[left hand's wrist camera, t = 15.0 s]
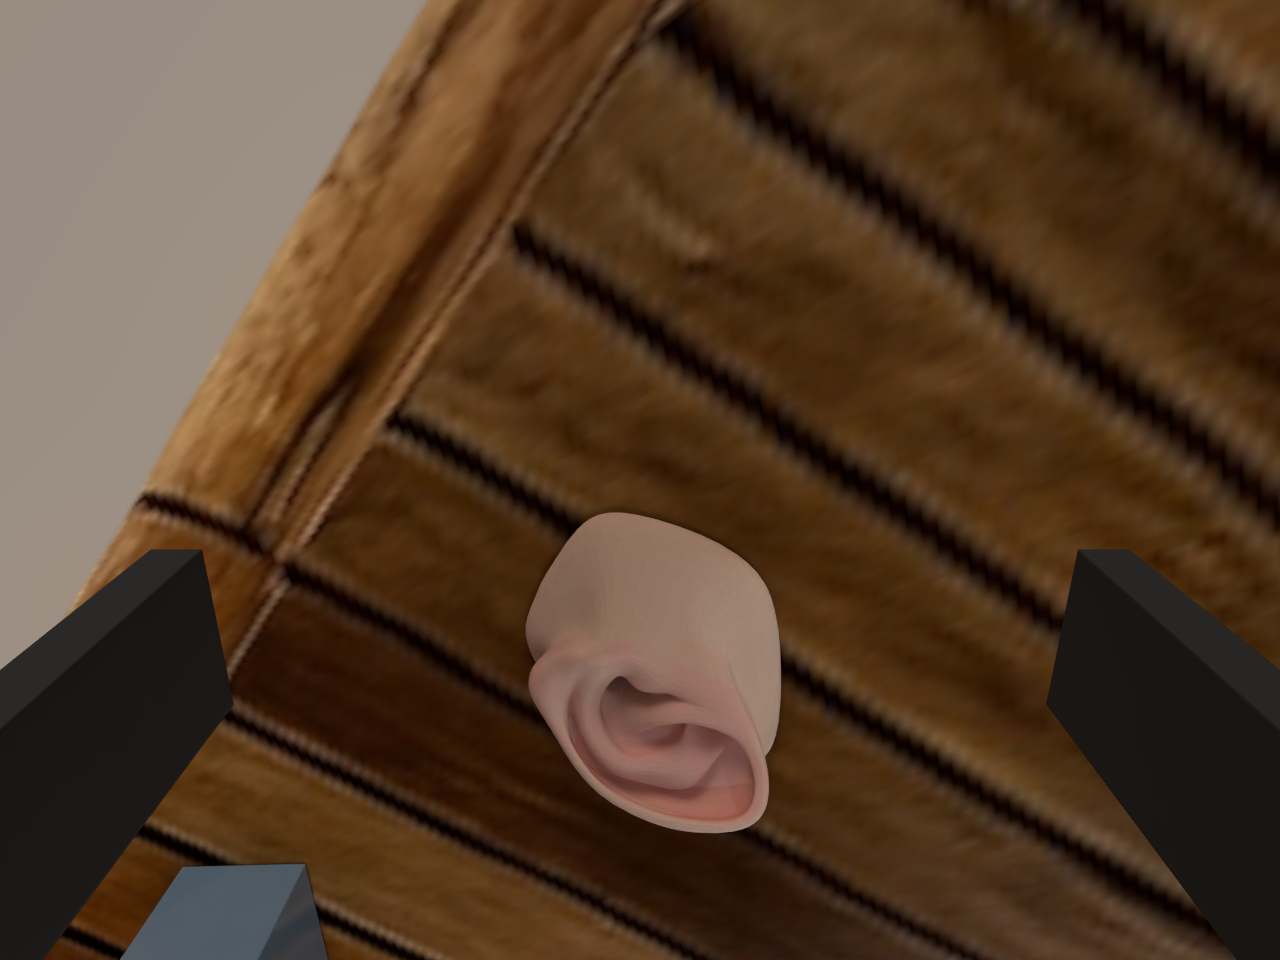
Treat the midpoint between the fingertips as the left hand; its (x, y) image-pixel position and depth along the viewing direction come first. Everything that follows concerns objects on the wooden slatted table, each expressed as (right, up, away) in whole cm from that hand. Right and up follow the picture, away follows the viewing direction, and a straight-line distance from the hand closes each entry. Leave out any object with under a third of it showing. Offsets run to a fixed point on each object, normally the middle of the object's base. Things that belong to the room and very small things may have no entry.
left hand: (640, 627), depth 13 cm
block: (-19, -20, +30) cm, 41 cm away
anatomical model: (+1, -5, +24) cm, 25 cm away
